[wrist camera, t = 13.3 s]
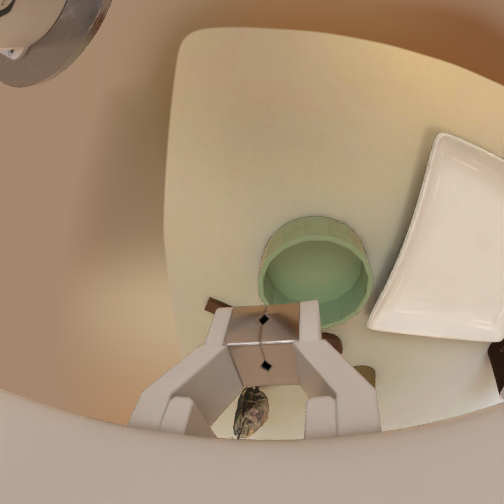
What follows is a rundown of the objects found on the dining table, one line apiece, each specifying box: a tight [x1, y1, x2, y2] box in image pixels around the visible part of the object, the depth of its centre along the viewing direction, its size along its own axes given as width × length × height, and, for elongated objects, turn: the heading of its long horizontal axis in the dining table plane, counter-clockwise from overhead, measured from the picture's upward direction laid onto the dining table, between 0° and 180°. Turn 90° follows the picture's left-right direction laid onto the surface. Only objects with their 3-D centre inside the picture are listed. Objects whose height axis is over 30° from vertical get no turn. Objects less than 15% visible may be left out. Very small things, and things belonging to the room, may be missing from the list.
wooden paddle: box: [205, 298, 342, 354], centre depth 46 cm, size 22×6×1 cm, turn 67°
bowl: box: [258, 216, 373, 329], centre depth 38 cm, size 13×13×5 cm
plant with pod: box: [231, 386, 269, 439], centre depth 44 cm, size 8×11×20 cm
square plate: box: [366, 133, 504, 342], centre depth 33 cm, size 27×27×4 cm
